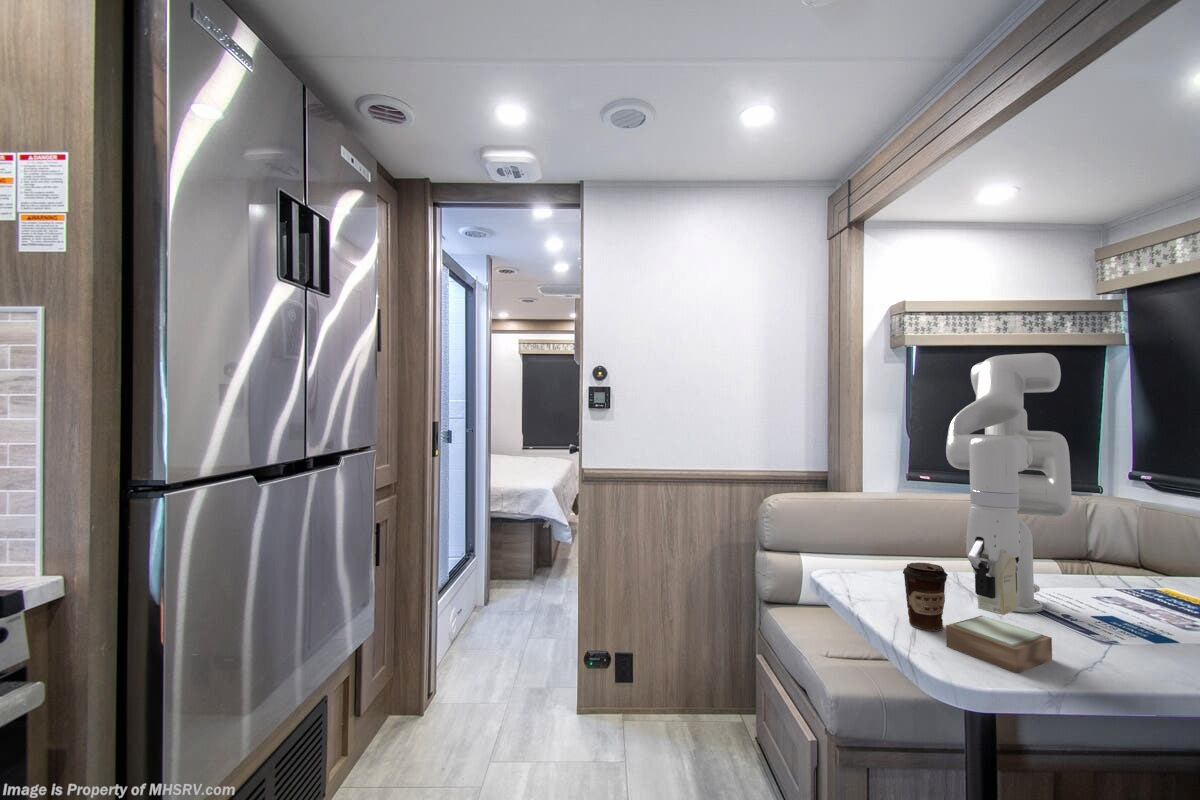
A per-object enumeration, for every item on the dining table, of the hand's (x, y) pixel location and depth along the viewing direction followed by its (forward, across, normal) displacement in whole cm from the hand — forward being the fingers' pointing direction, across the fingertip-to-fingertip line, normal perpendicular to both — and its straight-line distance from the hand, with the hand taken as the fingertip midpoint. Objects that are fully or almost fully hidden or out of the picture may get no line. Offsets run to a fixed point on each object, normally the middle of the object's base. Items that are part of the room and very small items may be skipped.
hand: (996, 592), depth 100 cm
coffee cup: (+12, 0, -14) cm, 18 cm away
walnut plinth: (+11, 0, 0) cm, 11 cm away
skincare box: (+3, 0, 0) cm, 3 cm away
